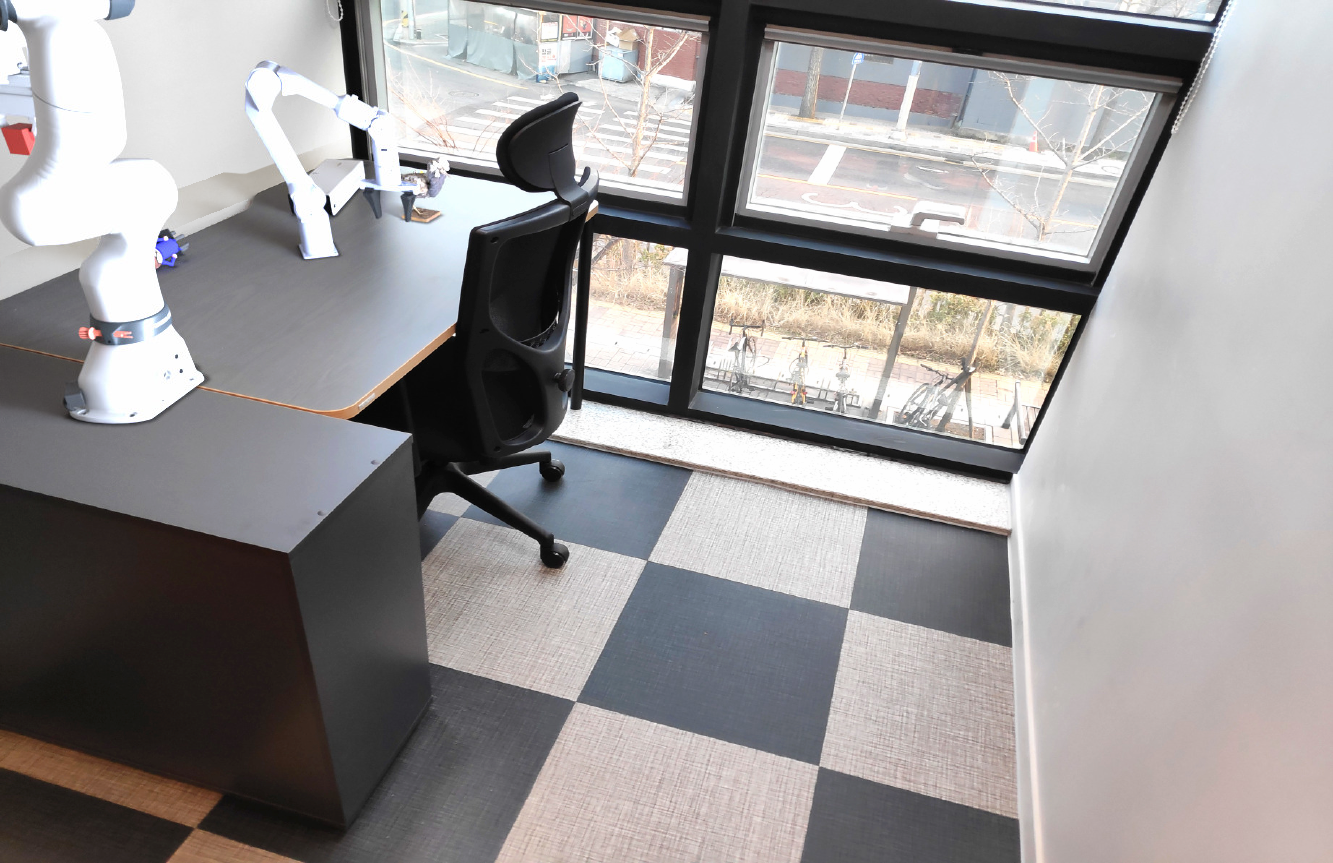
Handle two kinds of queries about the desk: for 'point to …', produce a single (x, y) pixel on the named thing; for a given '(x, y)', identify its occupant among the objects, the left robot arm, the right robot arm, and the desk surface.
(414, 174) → the stuffed bird
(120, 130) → the left robot arm
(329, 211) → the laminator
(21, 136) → the brick
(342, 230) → the desk surface
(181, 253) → the character figurine
